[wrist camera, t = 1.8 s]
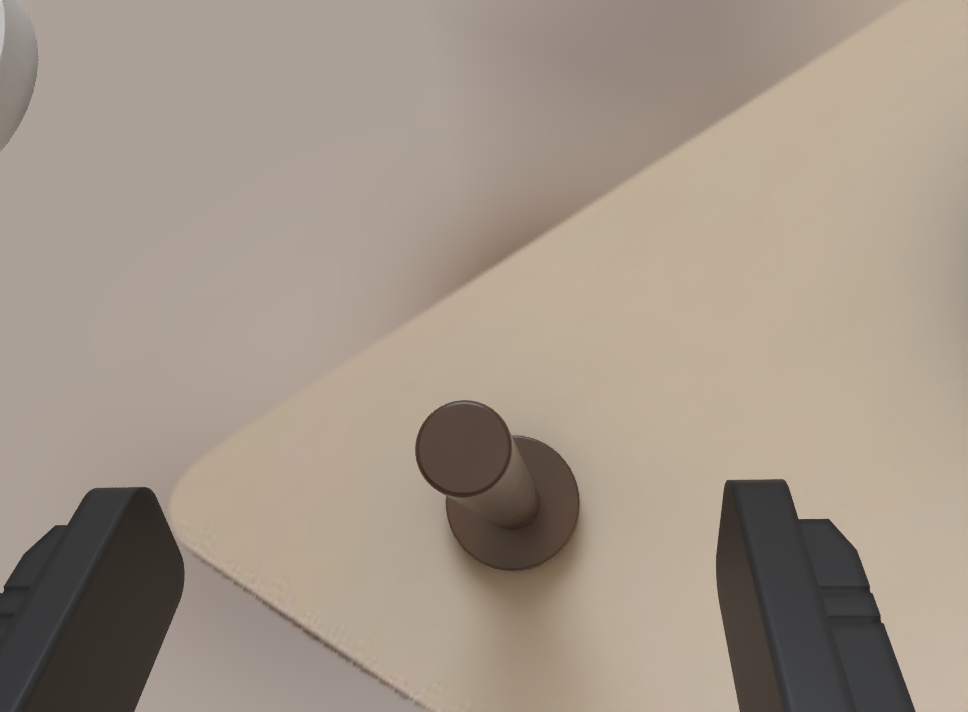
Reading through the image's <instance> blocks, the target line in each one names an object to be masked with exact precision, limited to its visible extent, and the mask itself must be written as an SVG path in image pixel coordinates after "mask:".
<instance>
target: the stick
mask: <svg viewBox="0 0 968 712" xmlns="http://www.w3.org/2000/svg"><path fill="white" fill-rule="evenodd" d="M415 455H416V461H417V464H418V467H419V470H420V472H421V474H422V475H423V477H424V478H425V480H426V481H427V482H428V483H429V484H430V485H431V486H432V487H433V488H435V489H436V490H438V491H439V492H441V493H443V494H444V495H446V511H447V517H448V521H449V524H450V528H451V530H452V532H453V534H454V536H455V538H456V539H457V541H458V542H459V544H460V545H461V546H462V547H463V549H464V550H465V551H466V552H467V553H468V554H470V555H471V556H472V557H473V558H475V559H476V560H478V561H479V562H481V563H483V564H485V565H487V566H490V567H493V568H496V569H501V570H510V571H517V570H526V569H531V568H534V567H537V566H540V565H542V564H544V563H546V562H547V561H549V560H550V559H552V558H553V557H555V556H556V555H557V554H558V553H559V552H560V551H561V550H562V549H563V548H564V547H565V545H566V544H567V543H568V541H569V540H570V538H571V536H572V534H573V532H574V530H575V527H576V524H577V520H578V515H579V492H578V487H577V483H576V480H575V478H574V475H573V473H572V471H571V469H570V468H569V466H568V465H567V463H566V462H565V460H564V459H563V458H562V457H561V456H560V455H559V454H558V453H557V452H556V451H555V450H553V449H552V448H551V447H549V446H548V445H546V444H544V443H542V442H540V441H538V440H535V439H532V438H529V437H524V436H515V435H511V434H510V431H509V429H508V427H507V425H506V423H505V422H504V420H503V419H502V418H501V417H500V415H499V414H498V413H496V412H495V411H494V410H493V409H491V408H490V407H488V406H486V405H484V404H482V403H479V402H475V401H468V400H462V401H454V402H451V403H448V404H445V405H443V406H441V407H439V408H438V409H436V410H435V411H434V412H433V413H431V414H430V415H429V416H428V418H427V419H426V420H425V421H424V423H423V424H422V426H421V428H420V430H419V433H418V435H417V439H416V446H415Z"/></svg>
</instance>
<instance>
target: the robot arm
mask: <svg viewBox="0 0 968 712" xmlns="http://www.w3.org/2000/svg"><path fill="white" fill-rule="evenodd" d="M716 578H717V590H718V598H719V604H720V609H721V614H722V619H723V625H724V630H725V635H726V641H727V646H728V651H729V657H730V662H731V667H732V672H733V678H734V683H735V688H736V694H737V699H738V704H739V709H740V712H915V709H914V706H913V703H912V701H911V698H910V695H909V692H908V690H907V687H906V684H905V681H904V679H903V676H902V673H901V670H900V668H899V665H898V662H897V659H896V657H895V654H894V651H893V648H892V646H891V643H890V640H889V637H888V635H887V632H886V629H885V626H884V624H883V623H881V619H880V616H881V615H880V613H879V610H878V607H877V604H876V602H875V599H874V596H873V593H870V585H869V582H868V580H867V577H866V574H865V571H864V569H863V566H862V563H861V560H860V558H859V555H858V552H857V550H856V549H855V548H854V546H853V545H852V544H851V543H850V542H849V541H848V540H847V539H846V538H845V536H844V535H843V534H842V533H841V532H840V531H839V530H838V529H837V528H836V526H835V525H834V524H833V523H832V522H831V521H830V520H829V519H798V516H797V513H796V510H795V506H794V503H793V500H792V497H791V493H790V490H789V487H788V485H787V483H786V482H785V480H783V479H771V480H727V481H726V483H725V486H724V493H723V502H722V511H721V519H720V528H719V536H718V545H717V554H716ZM183 586H184V563H183V558H182V555H181V553H180V551H179V549H178V546H177V544H176V541H175V539H174V537H173V535H172V532H171V530H170V528H169V525H168V523H167V521H166V518H165V516H164V514H163V512H162V509H161V507H160V505H159V503H158V500H157V498H156V496H155V494H154V493H153V491H152V490H151V489H149V488H146V487H134V488H133V487H130V488H94V489H92V490H91V491H89V492H88V493H87V494H86V495H85V497H84V498H83V500H82V502H81V503H80V505H79V506H78V508H77V510H76V512H75V513H74V515H73V517H72V518H71V520H70V522H69V523H68V525H61V526H60V525H57V526H54V527H53V528H52V529H51V530H50V531H49V532H48V533H47V534H46V535H44V536H43V537H42V538H41V539H40V540H39V541H38V542H37V543H36V544H35V545H33V546H32V547H31V548H30V549H29V550H28V551H27V552H26V553H25V554H24V555H23V556H22V558H21V560H20V561H19V563H18V564H17V566H16V568H15V569H14V571H13V573H12V574H11V576H10V577H9V579H8V581H7V582H6V584H5V585H4V592H3V593H0V712H134V711H135V708H136V706H137V703H138V701H139V698H140V696H141V694H142V691H143V689H144V687H145V684H146V682H147V679H148V677H149V674H150V672H151V670H152V667H153V665H154V662H155V660H156V657H157V655H158V653H159V650H160V648H161V645H162V643H163V640H164V638H165V635H166V633H167V631H168V628H169V626H170V624H171V621H172V619H173V616H174V614H175V612H176V609H177V607H178V604H179V602H180V599H181V595H182V592H183Z"/></svg>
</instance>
